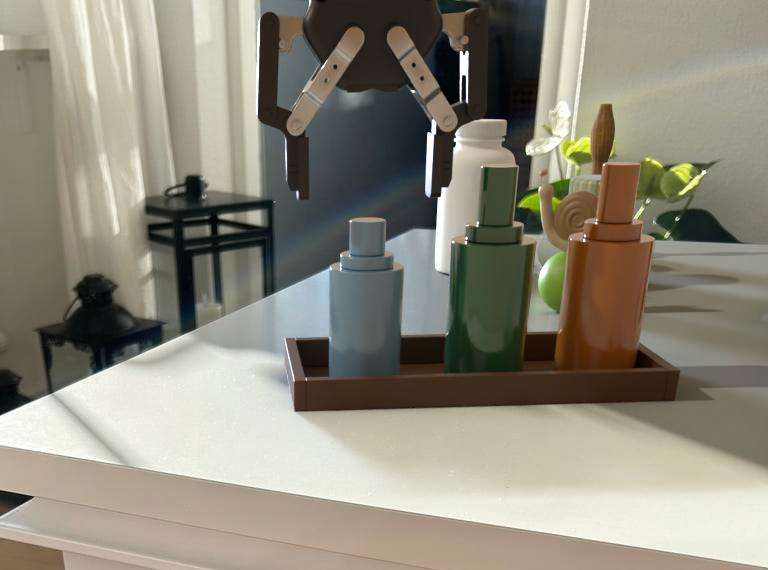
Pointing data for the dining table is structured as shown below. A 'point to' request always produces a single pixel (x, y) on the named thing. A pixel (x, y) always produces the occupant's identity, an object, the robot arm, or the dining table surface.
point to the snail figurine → (560, 235)
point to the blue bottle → (365, 304)
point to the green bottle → (490, 282)
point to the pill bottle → (467, 181)
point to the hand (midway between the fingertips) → (368, 197)
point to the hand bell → (602, 137)
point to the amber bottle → (605, 280)
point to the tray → (469, 379)
